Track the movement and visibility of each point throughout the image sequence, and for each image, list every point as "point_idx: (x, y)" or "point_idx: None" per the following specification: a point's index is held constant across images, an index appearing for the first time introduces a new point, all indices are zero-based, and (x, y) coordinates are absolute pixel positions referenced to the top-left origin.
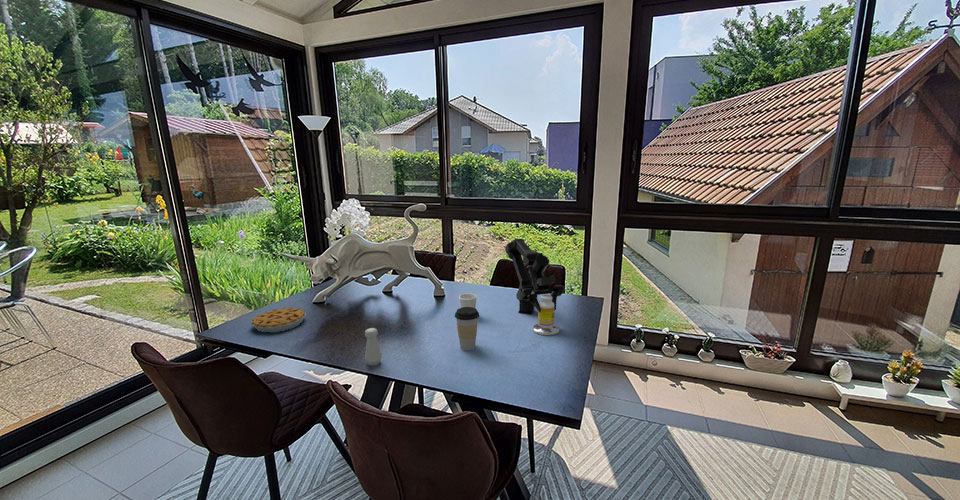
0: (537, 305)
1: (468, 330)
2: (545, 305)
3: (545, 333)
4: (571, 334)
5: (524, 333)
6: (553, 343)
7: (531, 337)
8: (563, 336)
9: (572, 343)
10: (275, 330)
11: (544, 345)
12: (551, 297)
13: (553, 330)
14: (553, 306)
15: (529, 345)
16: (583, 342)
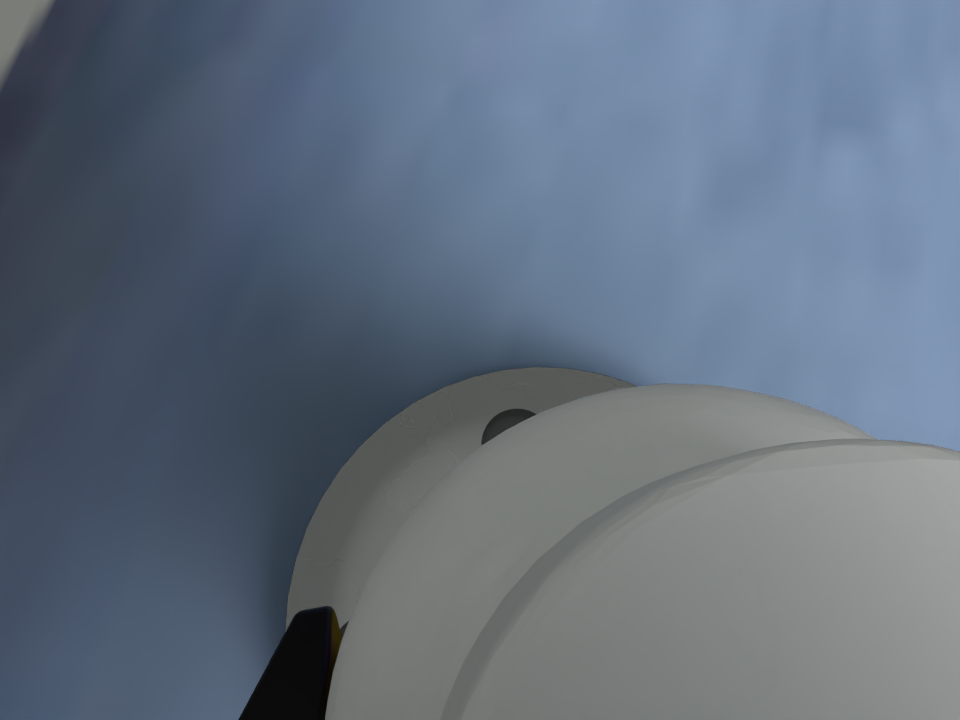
0: None
1: None
2: (834, 423)
3: (616, 381)
4: (140, 378)
5: None
6: (548, 106)
7: (853, 357)
8: (309, 320)
9: (260, 65)
10: None
11: (697, 66)
12: (559, 616)
13: None
14: (431, 490)
15: (916, 97)
16: (76, 71)
